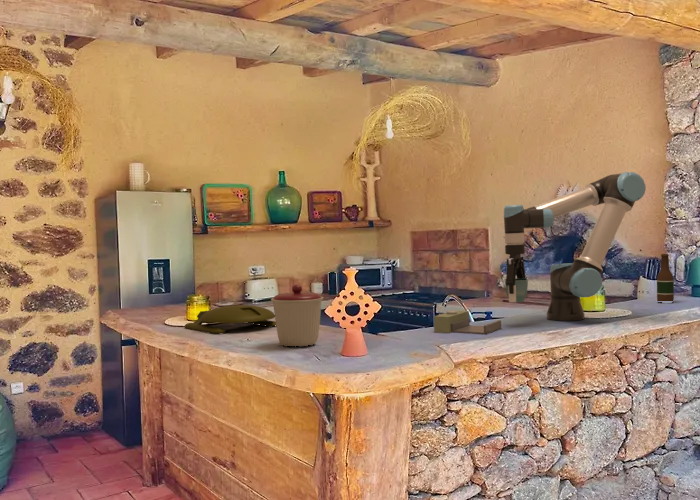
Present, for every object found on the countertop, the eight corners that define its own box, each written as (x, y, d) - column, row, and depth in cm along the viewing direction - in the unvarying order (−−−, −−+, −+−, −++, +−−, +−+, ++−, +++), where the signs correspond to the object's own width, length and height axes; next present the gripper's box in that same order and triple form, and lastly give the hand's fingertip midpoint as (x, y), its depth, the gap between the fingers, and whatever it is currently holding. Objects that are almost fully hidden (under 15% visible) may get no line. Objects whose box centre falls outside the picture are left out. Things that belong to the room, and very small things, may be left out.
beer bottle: (671, 301, 346) (670, 253, 345) (676, 303, 338) (675, 254, 338) (654, 302, 347) (654, 253, 346) (659, 303, 340) (659, 254, 339)
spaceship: (182, 329, 296) (181, 305, 295) (245, 321, 315) (244, 299, 315) (224, 337, 269) (223, 312, 268) (289, 328, 288) (289, 305, 288)
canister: (293, 339, 256) (292, 282, 256) (334, 343, 246) (333, 283, 246) (261, 347, 241) (259, 286, 240) (303, 351, 231) (301, 287, 230)
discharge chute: (501, 328, 271) (501, 320, 270) (486, 334, 257) (486, 325, 257) (467, 326, 278) (467, 318, 278) (451, 332, 264) (450, 323, 264)
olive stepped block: (469, 326, 280) (468, 308, 279) (448, 333, 263) (448, 314, 262) (455, 325, 283) (454, 308, 283) (434, 332, 266) (433, 313, 265)
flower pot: (529, 302, 271) (528, 279, 271) (505, 303, 273) (504, 280, 273) (527, 300, 280) (527, 278, 280) (505, 300, 282) (504, 278, 281)
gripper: (514, 243, 287) (516, 297, 288) (495, 245, 268) (498, 303, 269) (532, 242, 283) (534, 297, 284) (514, 245, 264) (517, 304, 265)
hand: (516, 300), depth 276 cm, fingers closed on flower pot, 10 cm apart
